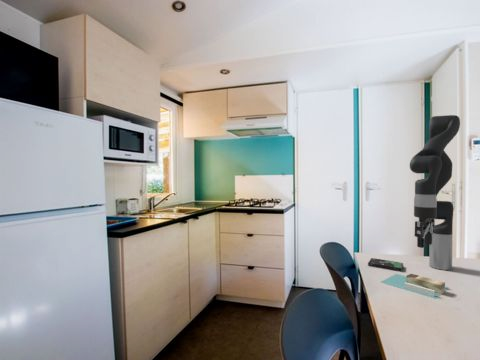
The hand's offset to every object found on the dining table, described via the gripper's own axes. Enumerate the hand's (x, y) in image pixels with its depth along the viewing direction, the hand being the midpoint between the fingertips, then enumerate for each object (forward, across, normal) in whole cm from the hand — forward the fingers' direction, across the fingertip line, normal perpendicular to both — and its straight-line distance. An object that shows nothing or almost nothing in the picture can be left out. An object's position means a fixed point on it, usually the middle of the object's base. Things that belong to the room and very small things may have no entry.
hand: (424, 245), depth 109 cm
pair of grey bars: (+18, 0, 0) cm, 18 cm away
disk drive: (+18, +16, +22) cm, 33 cm away
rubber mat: (+18, 0, +4) cm, 18 cm away
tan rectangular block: (+17, 0, 0) cm, 17 cm away
